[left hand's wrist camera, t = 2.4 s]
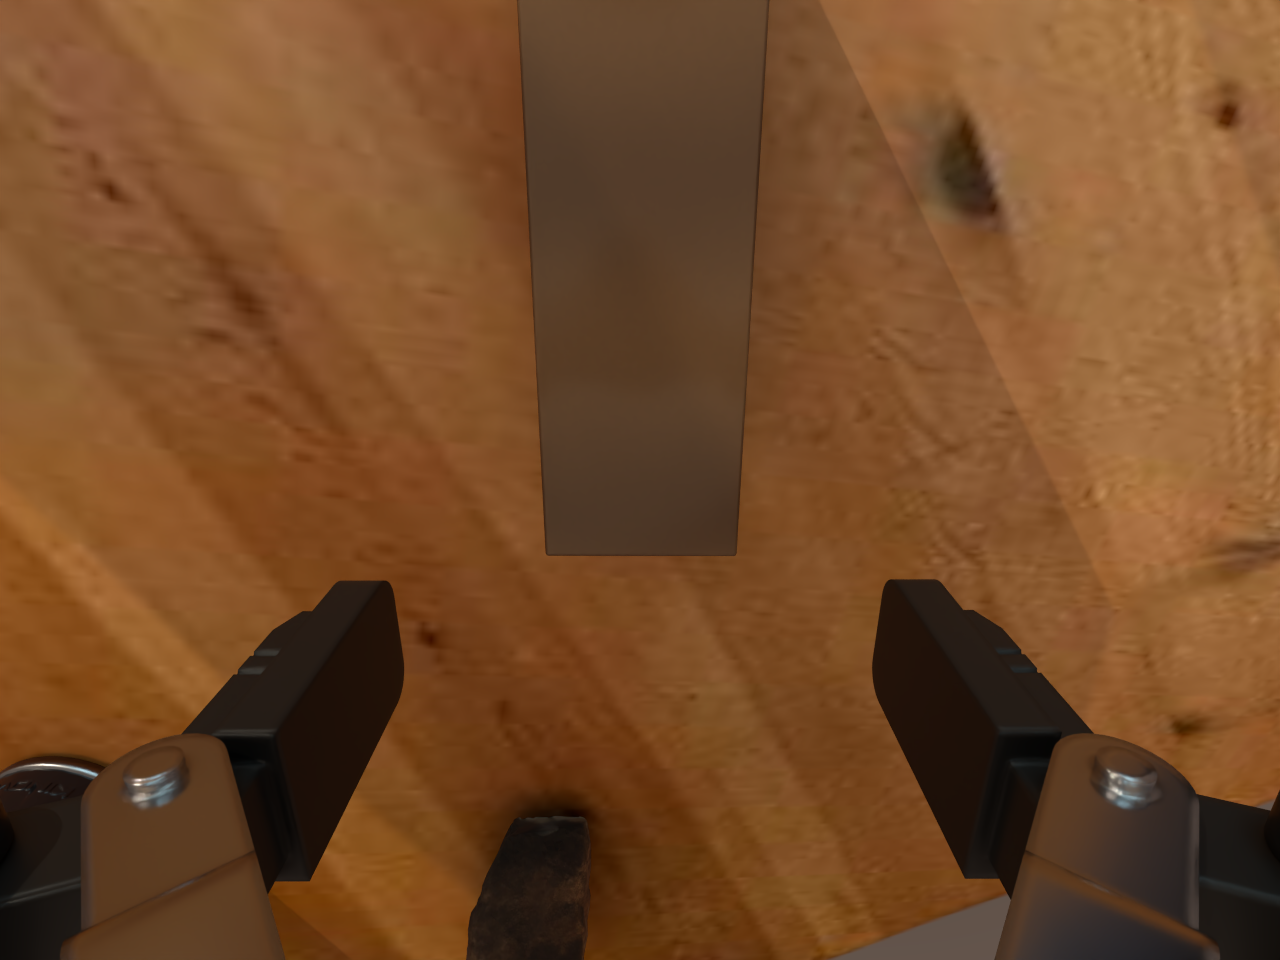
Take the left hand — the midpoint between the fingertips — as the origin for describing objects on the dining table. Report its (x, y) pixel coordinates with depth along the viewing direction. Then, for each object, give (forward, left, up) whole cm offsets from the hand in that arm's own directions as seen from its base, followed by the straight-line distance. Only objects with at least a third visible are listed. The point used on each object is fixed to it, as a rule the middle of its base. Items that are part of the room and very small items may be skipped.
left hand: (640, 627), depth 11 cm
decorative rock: (-29, +5, -18) cm, 34 cm away
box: (+7, 0, -18) cm, 20 cm away
